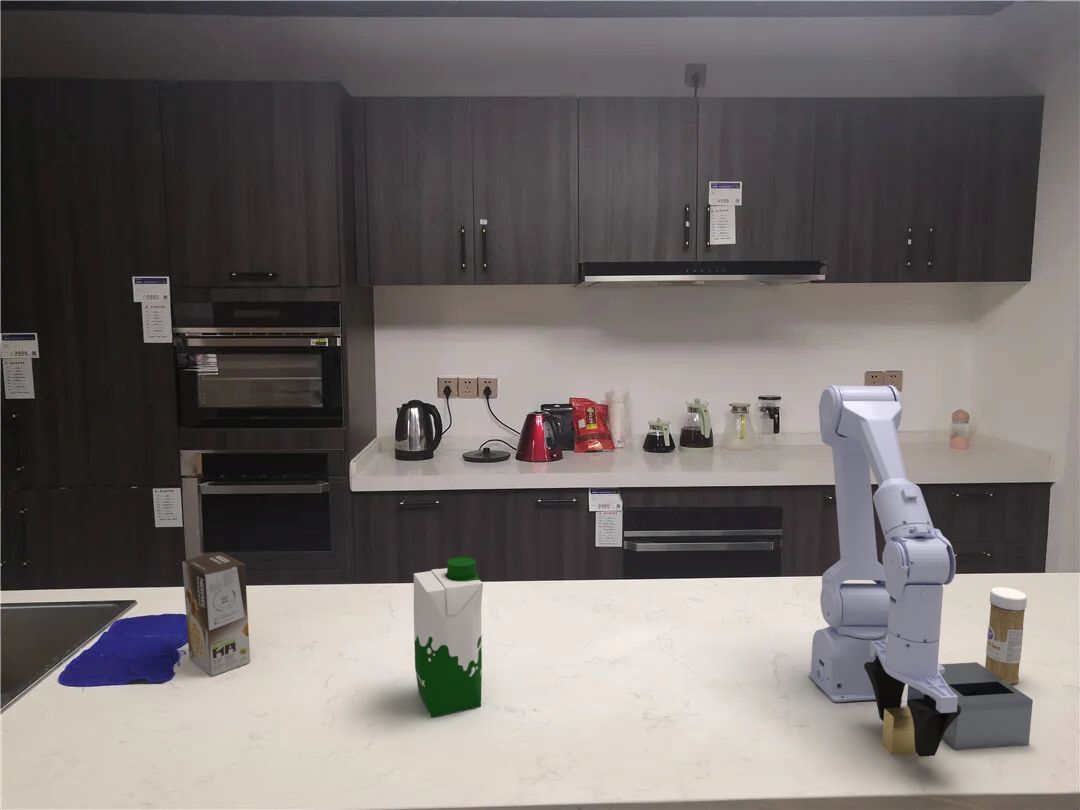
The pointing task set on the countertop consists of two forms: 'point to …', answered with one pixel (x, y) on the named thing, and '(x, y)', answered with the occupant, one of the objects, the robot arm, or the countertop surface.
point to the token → (898, 731)
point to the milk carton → (448, 636)
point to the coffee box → (216, 612)
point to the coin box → (984, 709)
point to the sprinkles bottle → (1005, 633)
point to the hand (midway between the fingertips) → (906, 736)
